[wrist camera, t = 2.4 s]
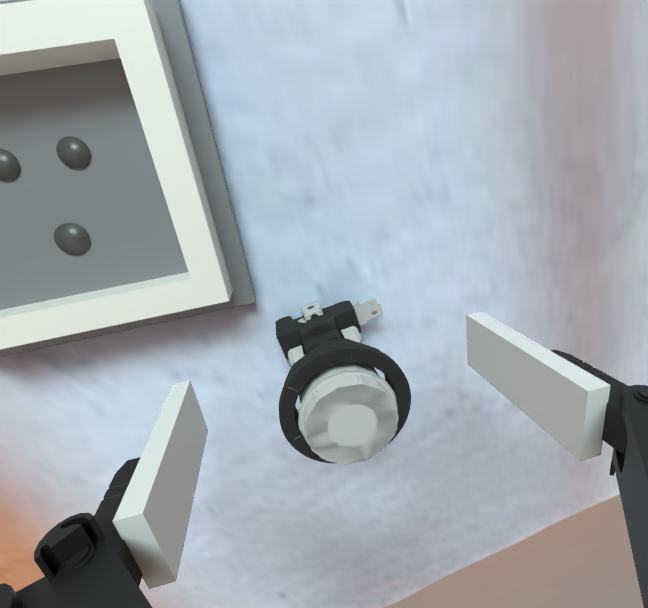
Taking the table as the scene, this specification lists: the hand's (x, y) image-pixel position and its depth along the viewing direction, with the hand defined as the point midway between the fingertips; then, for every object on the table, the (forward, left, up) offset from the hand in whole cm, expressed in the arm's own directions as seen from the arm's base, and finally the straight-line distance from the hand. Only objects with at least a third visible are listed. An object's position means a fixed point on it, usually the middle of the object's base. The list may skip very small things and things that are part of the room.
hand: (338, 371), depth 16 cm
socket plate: (+12, -10, -6) cm, 16 cm away
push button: (0, 0, -7) cm, 7 cm away
